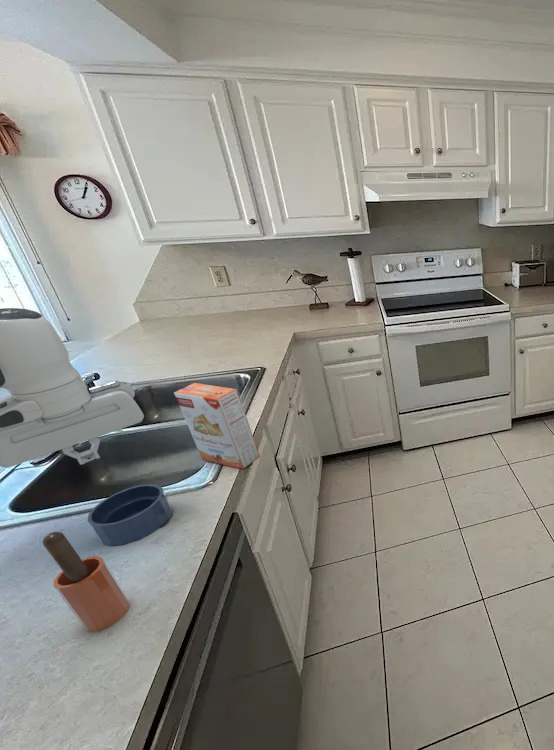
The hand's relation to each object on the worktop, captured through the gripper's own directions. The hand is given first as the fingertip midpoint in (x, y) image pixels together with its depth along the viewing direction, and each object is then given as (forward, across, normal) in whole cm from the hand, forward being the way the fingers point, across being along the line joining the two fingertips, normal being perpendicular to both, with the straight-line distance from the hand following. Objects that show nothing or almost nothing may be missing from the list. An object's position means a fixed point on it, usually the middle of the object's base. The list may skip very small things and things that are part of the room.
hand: (90, 460), depth 79 cm
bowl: (+18, -2, 0) cm, 18 cm away
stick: (+18, +7, +22) cm, 29 cm away
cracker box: (+18, -23, -10) cm, 31 cm away
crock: (+18, +7, +22) cm, 29 cm away
